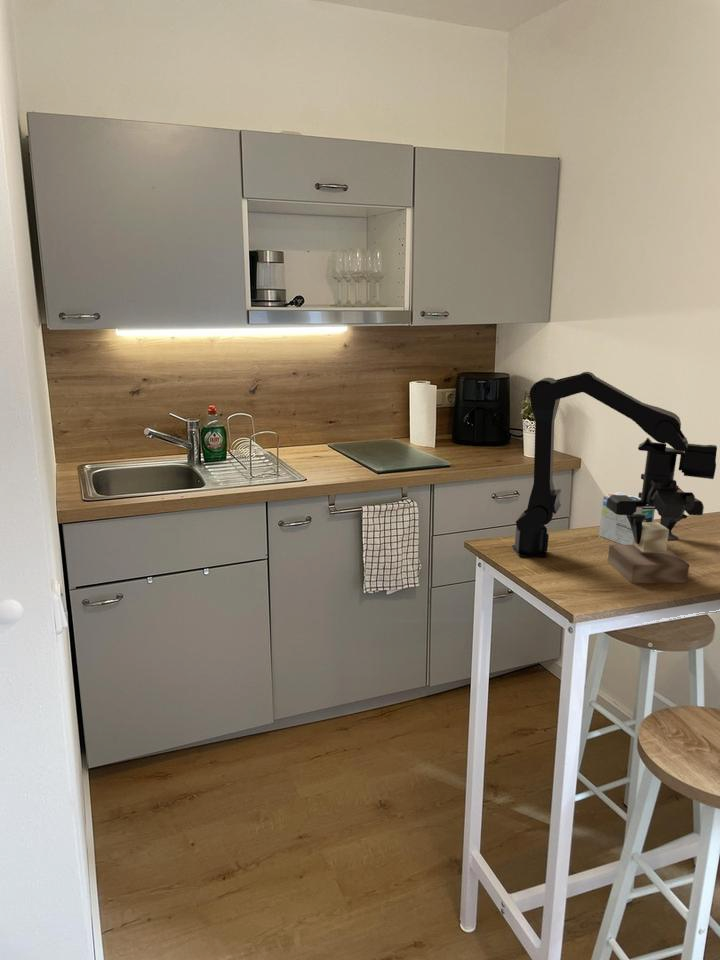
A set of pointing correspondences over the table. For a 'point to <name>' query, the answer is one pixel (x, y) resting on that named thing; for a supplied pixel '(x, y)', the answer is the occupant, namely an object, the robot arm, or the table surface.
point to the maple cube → (653, 537)
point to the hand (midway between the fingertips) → (649, 543)
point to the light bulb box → (619, 522)
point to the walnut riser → (648, 565)
